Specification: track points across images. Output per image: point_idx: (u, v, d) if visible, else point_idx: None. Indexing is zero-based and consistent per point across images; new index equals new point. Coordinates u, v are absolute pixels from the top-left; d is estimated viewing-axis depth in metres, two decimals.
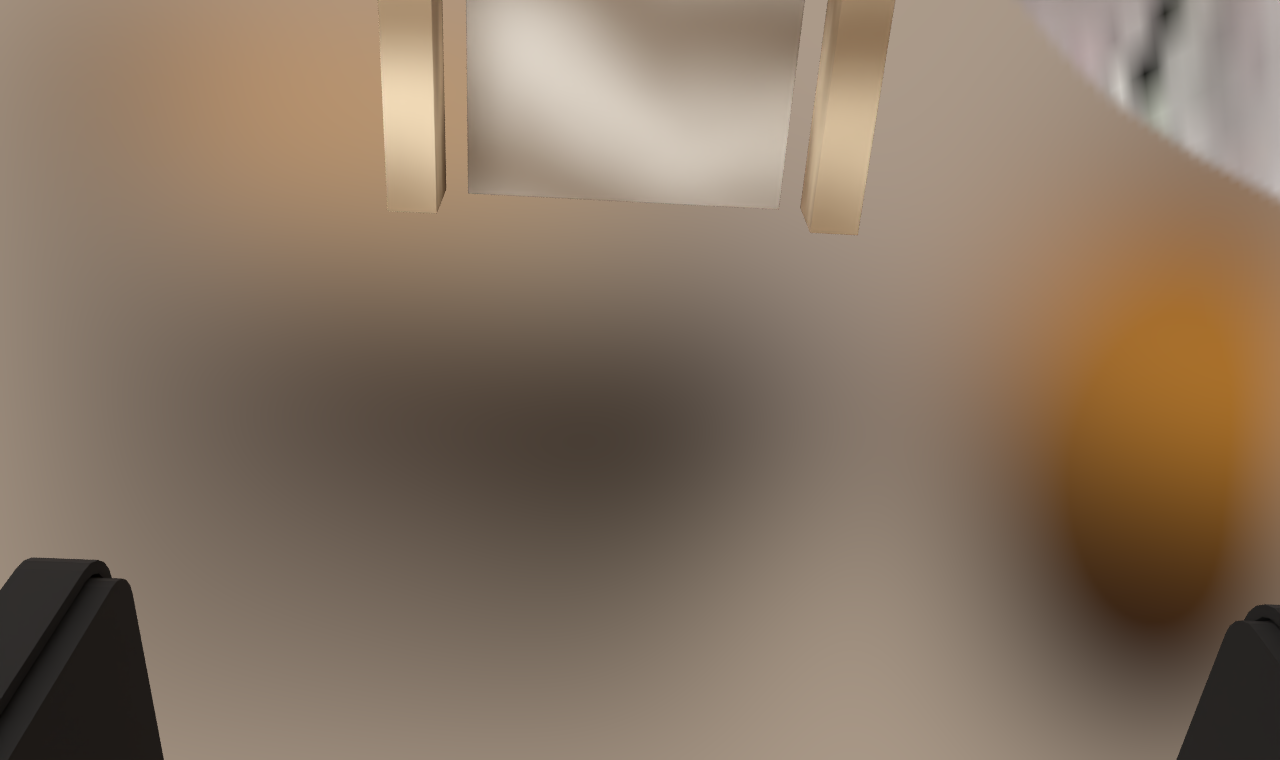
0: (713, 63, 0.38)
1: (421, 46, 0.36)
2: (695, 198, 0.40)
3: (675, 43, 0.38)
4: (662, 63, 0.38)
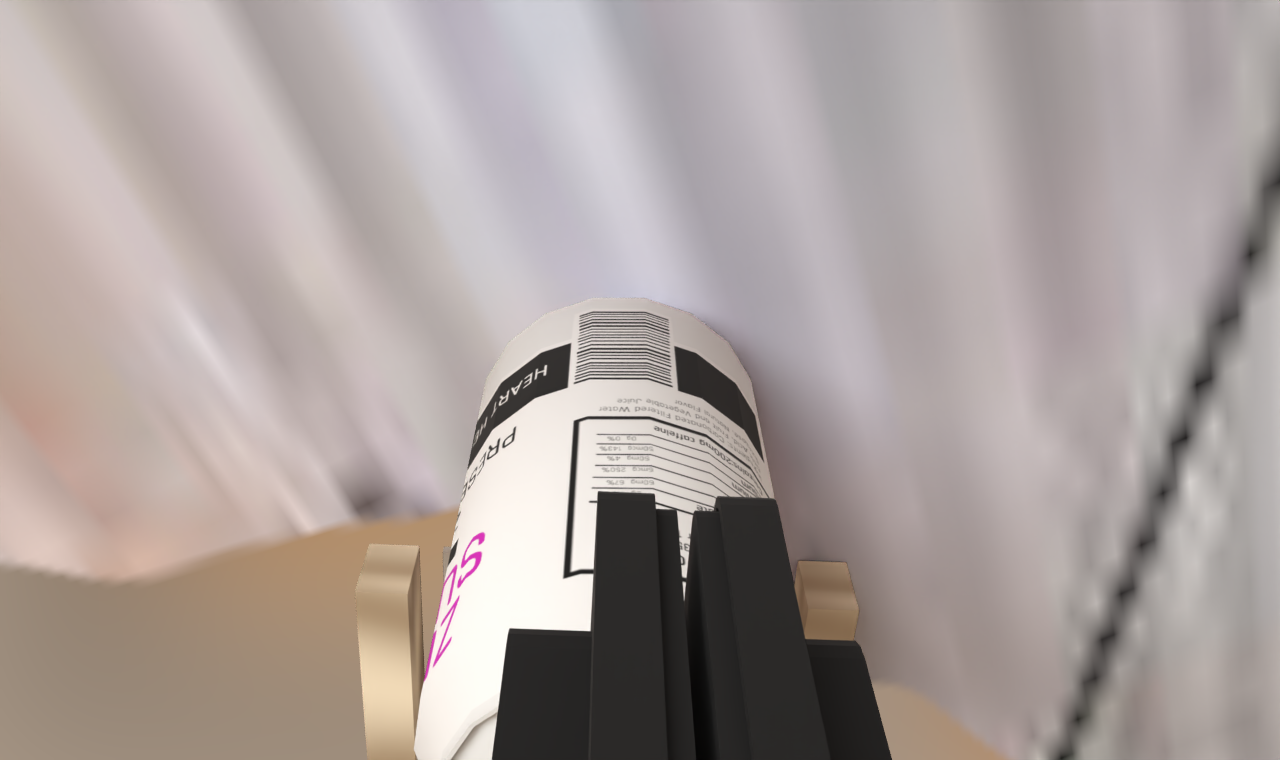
0: None
1: None
2: None
3: None
4: None
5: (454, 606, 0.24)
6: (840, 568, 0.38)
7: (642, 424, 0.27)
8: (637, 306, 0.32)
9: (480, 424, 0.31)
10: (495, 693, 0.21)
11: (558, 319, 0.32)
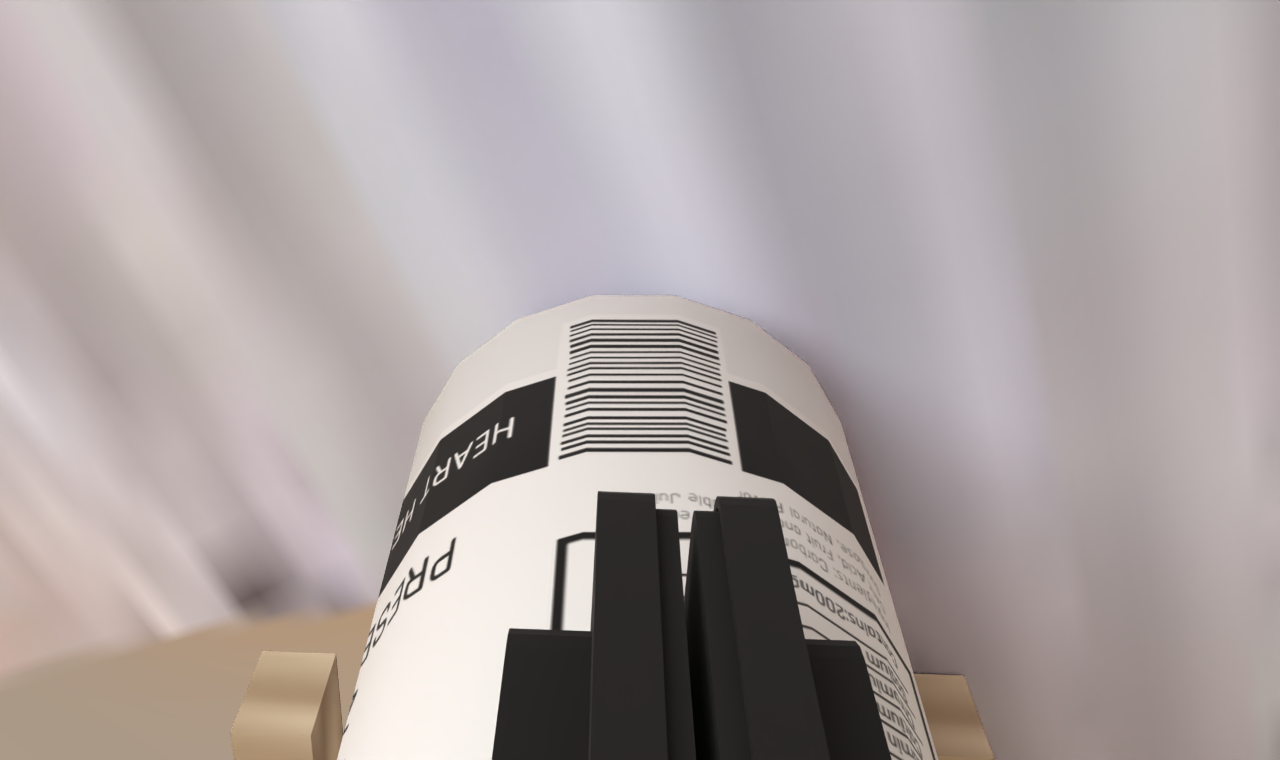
0: None
1: None
2: None
3: None
4: None
5: None
6: (956, 684, 0.26)
7: (683, 550, 0.14)
8: (664, 310, 0.20)
9: (406, 509, 0.19)
10: None
11: (536, 331, 0.20)
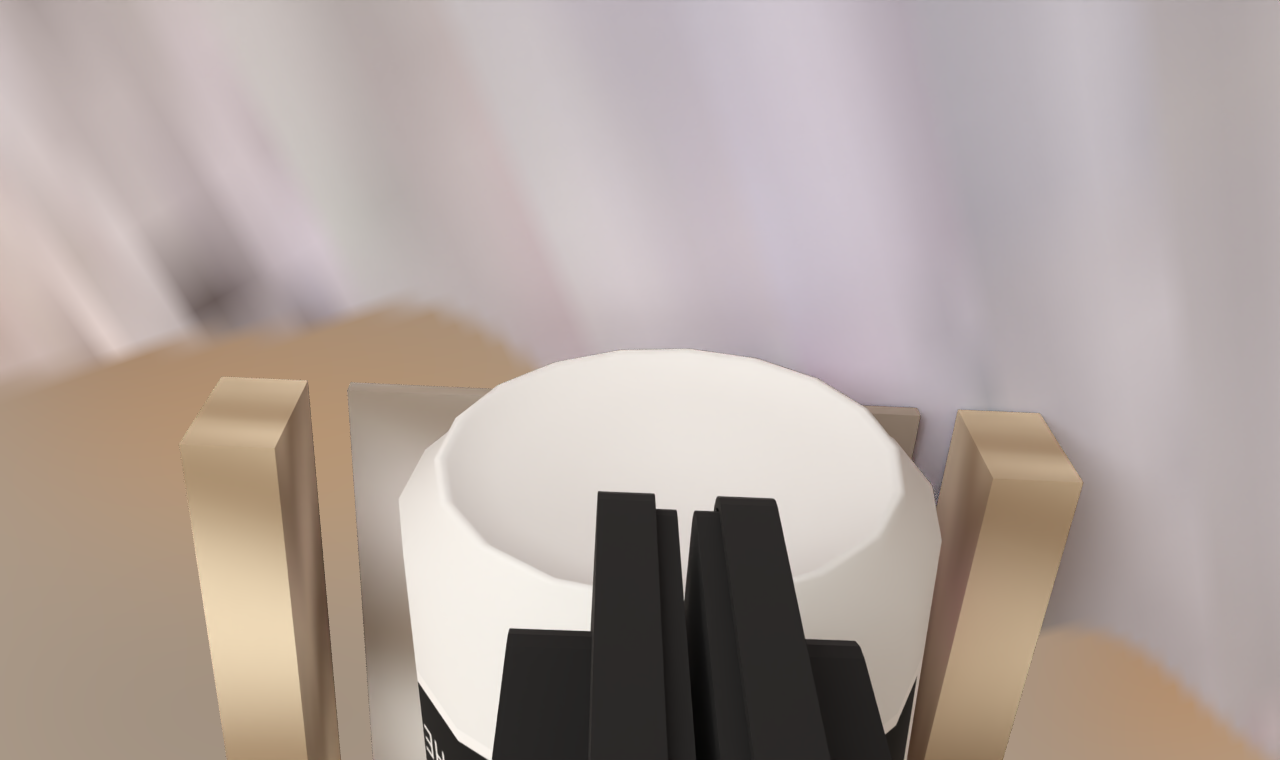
0: None
1: None
2: None
3: None
4: None
5: None
6: (1032, 420, 0.22)
7: None
8: None
9: (430, 727, 0.18)
10: None
11: None
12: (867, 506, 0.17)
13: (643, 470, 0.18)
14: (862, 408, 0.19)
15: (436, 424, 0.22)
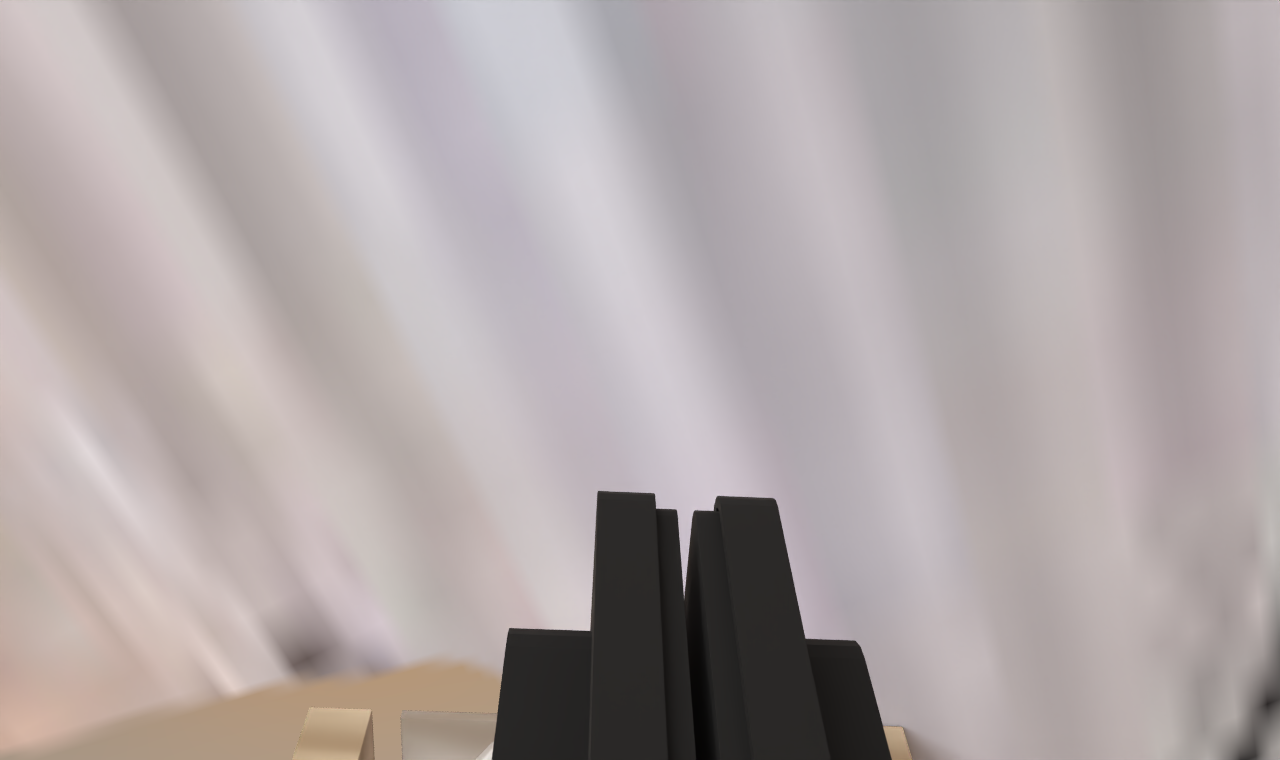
0: None
1: None
2: None
3: None
4: None
5: None
6: (895, 734, 0.31)
7: None
8: None
9: None
10: None
11: None
12: None
13: None
14: None
15: (464, 739, 0.30)
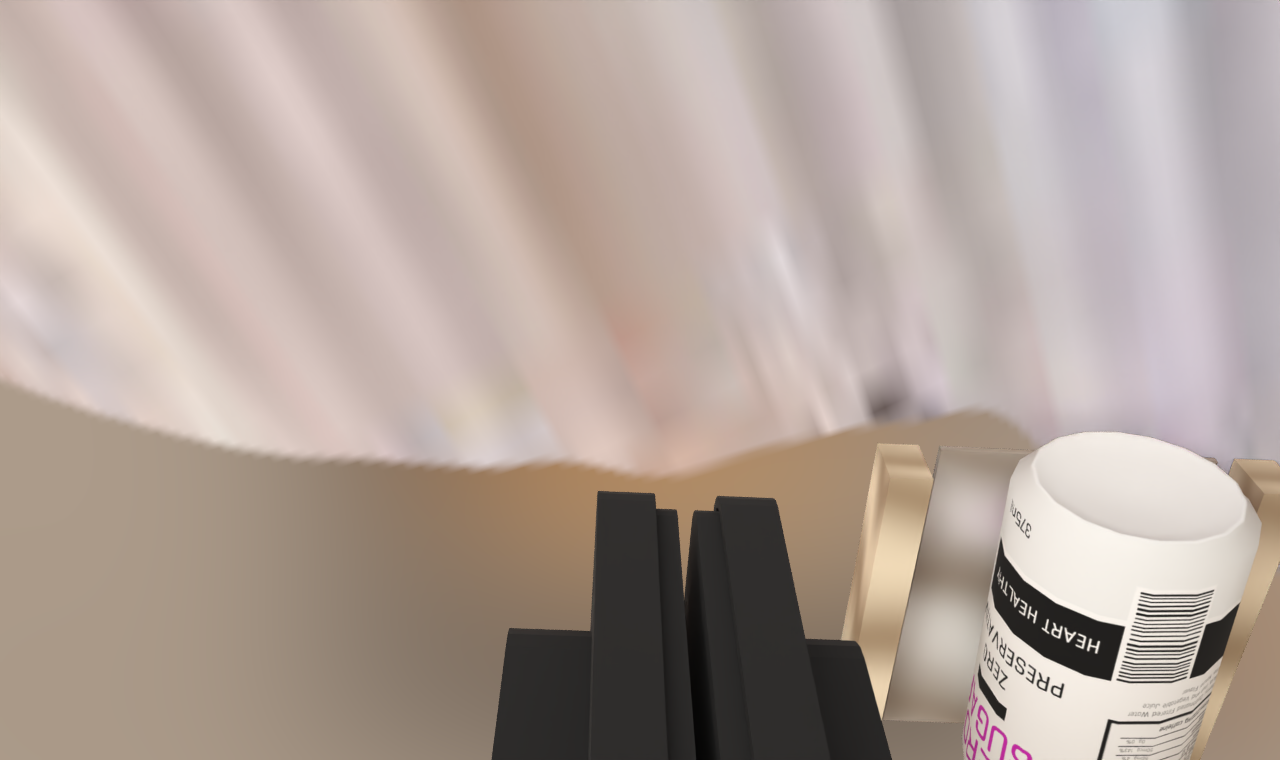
0: None
1: (886, 658, 0.47)
2: None
3: None
4: None
5: None
6: (1271, 464, 0.45)
7: (1152, 728, 0.40)
8: (1193, 585, 0.37)
9: (1028, 600, 0.41)
10: None
11: (1121, 583, 0.38)
12: (1232, 508, 0.39)
13: (1117, 490, 0.41)
14: (1213, 463, 0.41)
15: (979, 466, 0.45)
